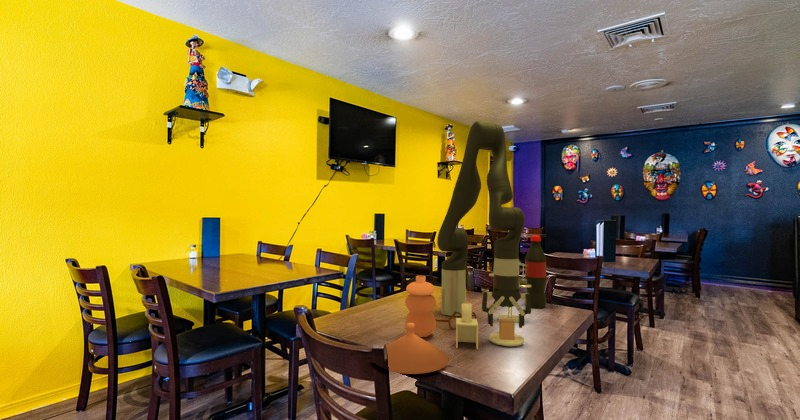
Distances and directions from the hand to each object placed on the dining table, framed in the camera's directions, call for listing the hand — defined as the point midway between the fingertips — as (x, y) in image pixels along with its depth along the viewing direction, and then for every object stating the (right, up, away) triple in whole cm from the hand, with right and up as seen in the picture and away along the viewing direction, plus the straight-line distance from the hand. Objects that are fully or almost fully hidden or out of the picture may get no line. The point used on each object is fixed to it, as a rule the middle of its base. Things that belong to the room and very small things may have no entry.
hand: (505, 326), depth 115 cm
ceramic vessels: (-28, -5, -5) cm, 29 cm away
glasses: (-14, -6, +20) cm, 25 cm away
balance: (+8, -5, +24) cm, 26 cm away
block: (0, -3, 0) cm, 3 cm away
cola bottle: (+25, -6, +44) cm, 51 cm away
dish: (0, -5, 0) cm, 5 cm away
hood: (-12, -5, -3) cm, 13 cm away
